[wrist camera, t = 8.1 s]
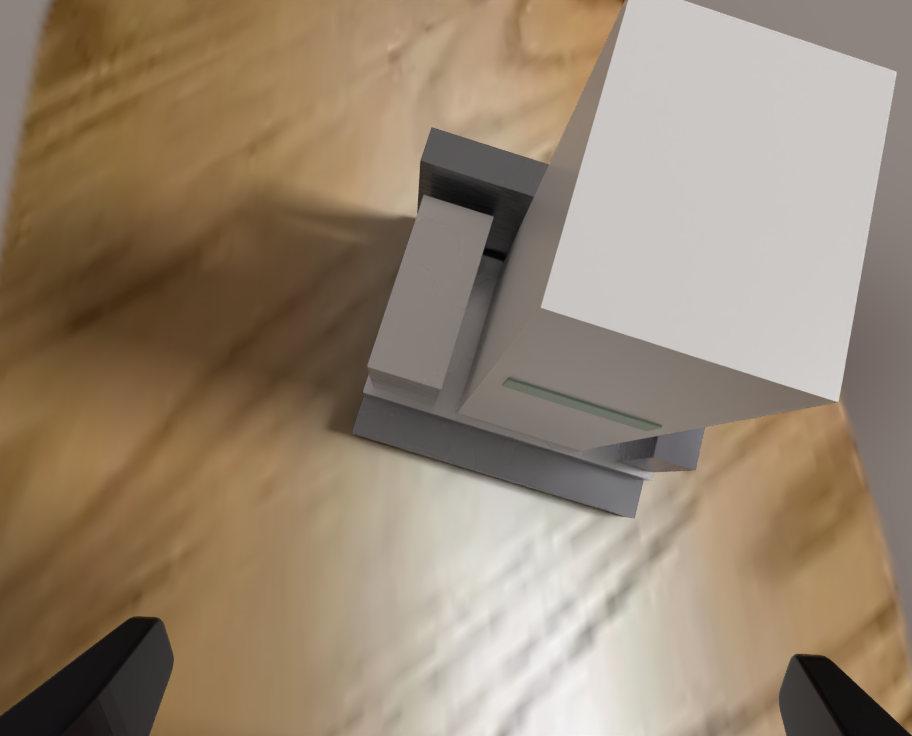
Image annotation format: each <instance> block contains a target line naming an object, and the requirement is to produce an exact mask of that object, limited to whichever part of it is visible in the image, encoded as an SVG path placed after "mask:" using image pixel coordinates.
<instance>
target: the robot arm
mask: <svg viewBox="0 0 912 736" xmlns="http://www.w3.org/2000/svg"><path fill="white" fill-rule="evenodd" d="M173 662H174V657H173V651H172V648H171V645H170V642H169V639H168V635H167V632H166V629H165V626H164V623H163V621H162V620H161V619H160V618H157V617H142V616H136V617H132V618H130V619H128V620H126V621H125V622H124V623H122V624H121V625H120V626H118V627H117V628H116V629H114V630H113V631H112V632H110V633H109V634H108V635H107V636H105V637H104V638H103V639H101V640H100V641H99V642H97V643H96V644H95V645H93V646H92V647H91V648H89V649H88V650H87V651H85V652H84V653H83V654H82V655H80V656H79V657H78V658H76V659H75V660H74V661H72V662H71V663H70V664H68V665H67V666H66V667H64V668H63V669H62V670H60V671H59V672H58V673H57V674H55V675H54V676H53V677H51V678H50V679H49V680H47V681H46V682H45V683H43V684H42V685H41V686H39V687H38V688H37V689H35V690H34V691H33V692H32V693H30V694H29V695H28V696H26V697H25V698H24V699H22V700H21V701H20V702H18V703H17V704H16V705H14V706H13V707H12V708H10V709H9V710H8V711H7V712H5V713H4V714H3V715H1V716H0V736H149V734H150V732H151V729H152V726H153V723H154V720H155V717H156V715H157V712H158V709H159V706H160V703H161V701H162V698H163V695H164V692H165V689H166V687H167V684H168V681H169V678H170V675H171V672H172V668H173ZM779 707H780V712H781V716H782V720H783V724H784V728H785V732H786V736H912V735H911V734H910V733H908V732H907V731H906V730H905V729H904V728H903V727H902V726H901V725H900V724H899V723H898V722H897V721H896V720H895V719H894V718H892V717H891V716H890V715H889V714H888V713H887V712H886V711H885V710H884V709H883V708H882V707H881V706H880V705H879V704H877V703H876V702H875V701H874V700H873V699H872V698H871V697H870V696H869V695H868V694H867V693H866V692H865V691H864V690H862V689H861V688H860V687H859V686H858V685H857V684H856V683H855V682H854V681H853V680H852V679H851V678H850V677H849V676H848V675H846V674H845V673H844V672H843V671H842V670H841V669H840V668H839V667H838V666H837V665H836V664H835V663H834V662H832V661H831V660H830V659H828V658H827V657H825V656H822V655H811V654H795V655H794V656H793V657H791V659H790V662H789V665H788V667H787V670H786V673H785V676H784V679H783V682H782V685H781V688H780V692H779Z"/></svg>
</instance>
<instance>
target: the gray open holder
mask: <svg viewBox="0 0 912 736" xmlns="http://www.w3.org/2000/svg"><path fill="white" fill-rule="evenodd" d="M548 166H549V165H548V164H545V163H542V162H539V161H536V160H533V159H530V158H526V157H523V156H520V155H517V154H514V153H511V152H508V151H505V150H501V149H498V148H495V147H492V146H489V145H486V144H483V143H479V142H476V141H473V140H470V139H467V138H464V137H461V136H457V135H454V134H451V133H448V132H445V131H442V130H439V129H436V128H431V131H430V134H429V137H428V140H427V143H426V146H425V149H424V152H423V155H422V158H421V161H420V177H419V193H418V210H417V217H416V220H415V223H414V226H413V229H412V232H411V235H410V238H409V241H408V244H407V247H406V250H405V253H404V256H403V259H402V262H401V265H400V268H399V271H398V274H397V277H396V280H395V283H394V286H393V289H392V292H391V295H390V298H389V301H388V304H387V307H386V310H385V313H384V317H383V320H382V323H381V326H380V329H379V332H378V335H377V338H376V341H375V344H374V347H373V350H372V353H371V356H370V359H369V362H368V365H367V369H368V372H369V375H368V378H367V381H366V384H365V387H364V390H363V394H364V397H363V400H362V403H361V406H360V409H359V412H358V415H357V418H356V421H355V424H354V427H353V430H352V433H353V434H354V435H357V436H360V437H363V438H367V439H370V440H373V441H377V442H380V443H383V444H386V445H390V446H393V447H396V448H400V449H403V450H406V451H410V452H413V453H416V454H420V455H423V456H426V457H429V458H433V459H436V460H439V461H443V462H446V463H449V464H453V465H456V466H459V467H462V468H466V469H469V470H472V471H476V472H479V473H482V474H486V475H489V476H492V477H496V478H499V479H502V480H505V481H509V482H512V483H515V484H519V485H522V486H525V487H529V488H532V489H535V490H538V491H542V492H545V493H548V494H552V495H555V496H558V497H562V498H565V499H568V500H572V501H575V502H578V503H581V504H585V505H588V506H591V507H595V508H598V509H601V510H605V511H608V512H611V513H614V514H618V515H621V516H624V517H629V518H635V515H636V511H637V506H638V502H639V498H640V493H641V489H642V484H643V481H645V480H652V477H653V473H654V472H669V471H691V470H696V466H697V462H698V457H699V452H700V448H701V443H702V438H703V434H704V429H705V427H703V428H697V429H692V430H687V431H681V432H676V433H670V434H665V435H660V436H654V437H649V438H644V439H638V440H633V441H627V442H622V443H617V444H611V445H606V446H600V447H595V448H590V449H584V450H579V451H578V450H575V449H572V448H568V447H565V446H562V445H559V444H555V443H552V442H549V441H546V440H543V439H539V438H536V437H533V436H530V435H527V434H523V433H520V432H517V431H514V430H511V429H507V428H504V427H501V426H498V425H495V424H491V423H488V422H485V421H482V420H478V419H475V418H472V417H469V416H466V415H462V414H459V413H457V412H458V408H459V405H460V402H461V399H462V395H463V392H464V389H465V385H466V382H467V379H468V375H469V372H470V369H471V365H472V362H473V359H474V356H475V352H476V349H477V346H478V342H479V339H480V336H481V332H482V329H483V326H484V322H485V319H486V316H487V313H488V309H489V306H490V303H491V299H492V296H493V293H494V289H495V286H496V283H497V280H498V276H499V273H500V270H501V267H502V265H503V263H504V261H505V258H506V256H507V254H508V252H509V250H510V248H511V245H512V243H513V241H514V239H515V237H516V235H517V232H518V230H519V228H520V226H521V224H522V222H523V220H524V217H525V215H526V213H527V211H528V209H529V207H530V204H531V202H532V200H533V198H534V196H535V194H536V192H537V189H538V187H539V185H540V183H541V181H542V179H543V176H544V174H545V172H546V170H547V168H548Z"/></svg>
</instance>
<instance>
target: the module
mask: <svg viewBox="0 0 912 736" xmlns="http://www.w3.org/2000/svg"><path fill="white" fill-rule="evenodd" d="M896 74H897V72H896V71H893V70H890V69H887V68H884V67H881V66H878V65H875V64H872V63H869V62H866V61H863V60H860V59H857V58H854V57H851V56H848V55H845V54H842V53H839V52H836V51H833V50H830V49H827V48H824V47H821V46H818V45H815V44H812V43H809V42H806V41H803V40H800V39H797V38H794V37H791V36H788V35H785V34H782V33H779V32H776V31H773V30H770V29H767V28H764V27H761V26H758V25H755V24H753V23H749V22H747V21H744V20H741V19H738V18H734V17H731V16H728V15H725V14H722V13H719V12H716V11H713V10H711V9H708V8H705V7H702V6H699V5H696V4H693V3H690V2H687V1H684V0H625V2H624V4H623V6H622V8H621V10H620V13H619V15H618V17H617V19H616V21H615V23H614V26H613V28H612V30H611V32H610V34H609V36H608V38H607V41H606V43H605V45H604V47H603V49H602V51H601V54H600V56H599V58H598V60H597V62H596V64H595V66H594V69H593V71H592V73H591V75H590V77H589V79H588V82H587V84H586V86H585V88H584V90H583V92H582V95H581V97H580V99H579V101H578V103H577V105H576V107H575V110H574V112H573V114H572V116H571V118H570V120H569V123H568V125H567V127H566V129H565V131H564V133H563V135H562V138H561V140H560V142H559V144H558V146H557V148H556V151H555V153H554V155H553V157H552V159H551V161H550V163H549V166H548V168H547V170H546V172H545V174H544V176H543V179H542V181H541V183H540V185H539V187H538V189H537V192H536V194H535V196H534V198H533V200H532V202H531V204H530V207H529V209H528V211H527V213H526V215H525V217H524V220H523V222H522V224H521V226H520V228H519V230H518V232H517V235H516V237H515V239H514V241H513V243H512V245H511V248H510V250H509V252H508V254H507V256H506V258H505V261H504V263H503V265H502V267H501V270H500V273H499V276H498V280H497V283H496V286H495V289H494V293H493V296H492V299H491V303H490V306H489V309H488V313H487V316H486V319H485V322H484V326H483V329H482V332H481V336H480V339H479V342H478V346H477V349H476V352H475V356H474V359H473V362H472V365H471V369H470V372H469V375H468V379H467V382H466V385H465V389H464V392H463V395H462V399H461V402H460V405H459V408H458V412H457V413H459V414H462V415H466V416H469V417H472V418H475V419H478V420H482V421H485V422H488V423H491V424H495V425H498V426H501V427H504V428H507V429H511V430H514V431H517V432H520V433H523V434H527V435H530V436H533V437H536V438H539V439H543V440H546V441H549V442H552V443H555V444H559V445H562V446H565V447H568V448H572V449H575V450H578V451H579V450H584V449H590V448H595V447H600V446H606V445H611V444H617V443H622V442H627V441H633V440H638V439H644V438H649V437H654V436H660V435H665V434H670V433H676V432H681V431H687V430H692V429H697V428H703V427H708V426H714V425H719V424H724V423H730V422H735V421H741V420H746V419H751V418H757V417H762V416H767V415H773V414H778V413H784V412H789V411H794V410H800V409H805V408H811V407H816V406H821V405H827V404H832V403H838V402H839V396H840V390H841V385H842V379H843V373H844V367H845V362H846V356H847V351H848V345H849V339H850V333H851V327H852V322H853V317H854V311H855V305H856V300H857V294H858V288H859V283H860V277H861V272H862V266H863V260H864V255H865V249H866V243H867V237H868V232H869V226H870V221H871V215H872V209H873V204H874V198H875V192H876V186H877V181H878V176H879V170H880V164H881V159H882V153H883V146H884V141H885V136H886V130H887V125H888V119H889V113H890V108H891V102H892V96H893V91H894V85H895V79H896Z"/></svg>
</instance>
